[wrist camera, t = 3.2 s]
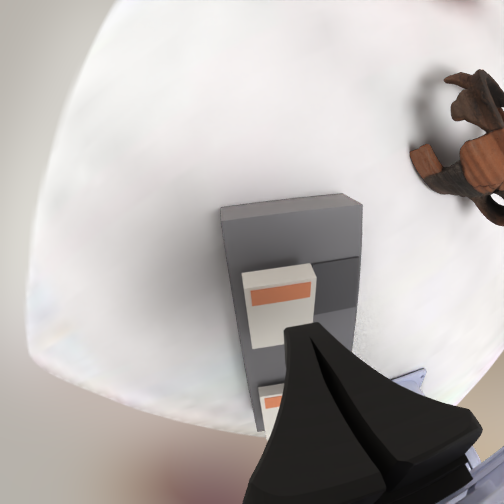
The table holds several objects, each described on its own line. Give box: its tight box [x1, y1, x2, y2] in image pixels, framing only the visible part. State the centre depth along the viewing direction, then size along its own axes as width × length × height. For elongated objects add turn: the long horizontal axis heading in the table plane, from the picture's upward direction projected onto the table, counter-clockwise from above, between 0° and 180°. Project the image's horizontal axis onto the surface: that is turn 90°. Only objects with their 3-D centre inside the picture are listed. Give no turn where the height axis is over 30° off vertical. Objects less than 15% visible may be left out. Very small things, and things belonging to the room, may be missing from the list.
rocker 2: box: [258, 383, 284, 440], centre depth 20 cm, size 5×4×2 cm
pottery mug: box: [410, 69, 504, 226], centre depth 15 cm, size 12×9×8 cm
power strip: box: [221, 194, 363, 432], centre depth 21 cm, size 20×8×3 cm, turn 6°
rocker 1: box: [242, 263, 317, 349], centre depth 16 cm, size 5×4×2 cm
